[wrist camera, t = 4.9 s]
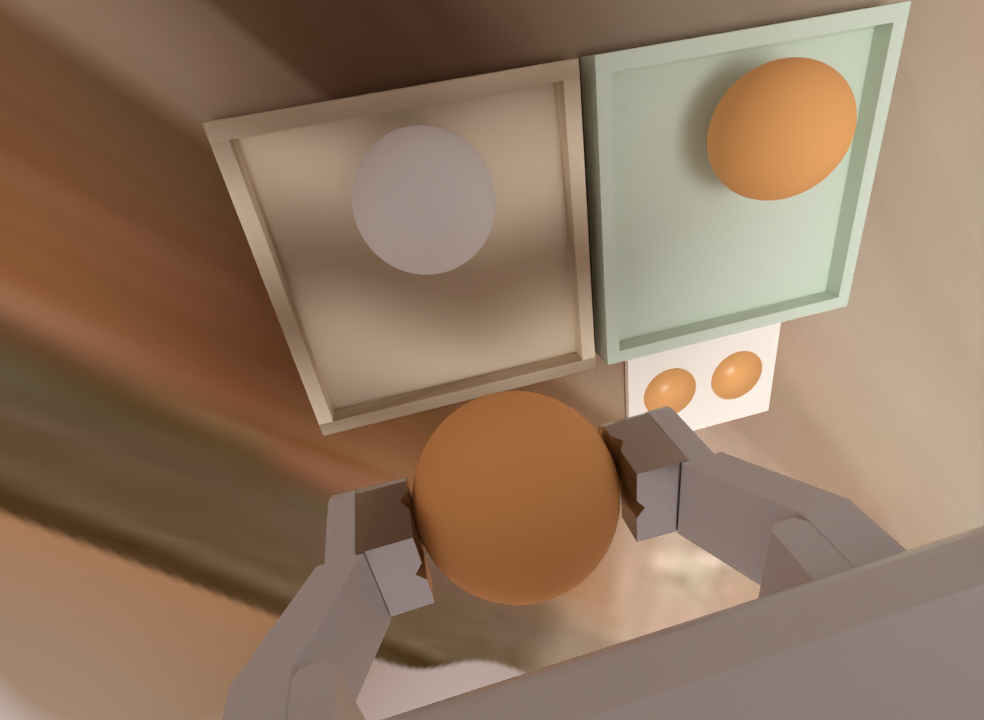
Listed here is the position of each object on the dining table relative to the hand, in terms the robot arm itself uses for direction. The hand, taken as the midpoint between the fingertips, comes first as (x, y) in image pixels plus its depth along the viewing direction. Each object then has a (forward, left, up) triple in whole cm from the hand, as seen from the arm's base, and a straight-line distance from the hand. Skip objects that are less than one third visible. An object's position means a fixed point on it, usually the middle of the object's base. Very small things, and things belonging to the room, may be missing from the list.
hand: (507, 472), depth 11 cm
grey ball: (-4, 0, -9) cm, 10 cm away
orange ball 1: (0, 0, -1) cm, 1 cm away
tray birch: (-2, 0, -10) cm, 10 cm away
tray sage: (-2, +11, -10) cm, 15 cm away
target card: (+6, +10, -10) cm, 15 cm away
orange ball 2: (-4, +11, -9) cm, 15 cm away
